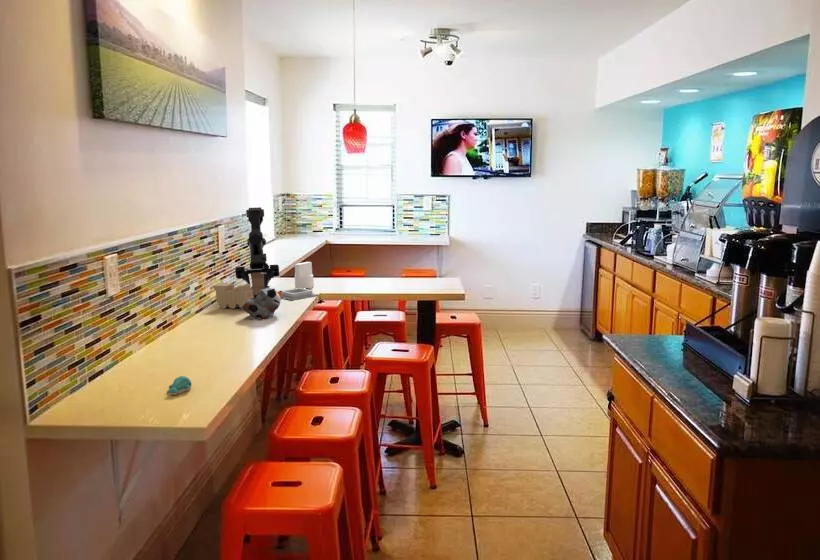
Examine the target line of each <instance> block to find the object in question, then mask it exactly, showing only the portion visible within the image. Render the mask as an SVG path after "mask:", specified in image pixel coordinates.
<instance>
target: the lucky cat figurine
mask: <svg viewBox="0 0 820 560" xmlns="http://www.w3.org/2000/svg"><path fill="white" fill-rule="evenodd" d="M282 291H283V290H278V291H277V290H276V288H272V287H267V288H264V289H262V290H261V291H259V293H258V294H256V293H255V294H254V295H253V296H254V298H251V299H250V300H247V301H246V302H245V303H244V305H243V306H242V307H239V310H241V311H244V312H245V313H247V314H248V315H249V316H251V317H254V318H256V319H257V318H259V320H263V319H264V320H269V319H272V318H273V317H274V315H275V312H276V311H277V310H278V309H279V307H280V305H281V301H282V299H283V298H282Z"/></svg>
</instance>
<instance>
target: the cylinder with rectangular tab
mask: <svg viewBox="0 0 820 560" xmlns="http://www.w3.org/2000/svg"><path fill="white" fill-rule="evenodd" d="M312 264H313V263H312V261H305V262H299V263H294V287H295V288H294V289H296V288H302V289H304V288H310V289H313V288H312V287H315V280H314V274H313V265H312Z"/></svg>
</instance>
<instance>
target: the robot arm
mask: <svg viewBox="0 0 820 560" xmlns="http://www.w3.org/2000/svg"><path fill="white" fill-rule="evenodd" d="M245 212H246V213H245V214H246V218H248V222H249V224H250V229H251V231H250V232H249V233H248V238H247V240H246V242H247V243H246V245H247V247H249V253H250V254H249V255H250V261H249V268H246V267H245V266H244V265H243V266H236V267H235V269H234V270H235V271H234V272H235V277H236V279H237V280H239V279H240V280H242V281H245V282H246V284H250V285H251V281H250V276H249V275H251V274H252V273H257V272H263V275H264V289H267V288H271V286H270V285H269V283H270V282H271V280H272V279H274V278H275V277H279V276H280V266H279V264H268V263H267V253H264V249H263V248H264V246H266V244H267V239H266V238H265V237H264V236H263V232H262V230H261V225H262V223H263V222H264V217H265V209H262V207H261V206H259V207H249V208H248V209H246V210H245ZM251 289H252V286H251Z"/></svg>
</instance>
